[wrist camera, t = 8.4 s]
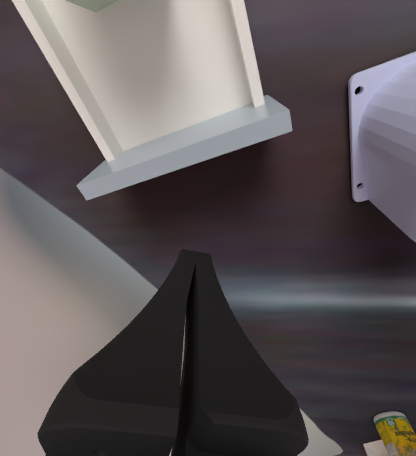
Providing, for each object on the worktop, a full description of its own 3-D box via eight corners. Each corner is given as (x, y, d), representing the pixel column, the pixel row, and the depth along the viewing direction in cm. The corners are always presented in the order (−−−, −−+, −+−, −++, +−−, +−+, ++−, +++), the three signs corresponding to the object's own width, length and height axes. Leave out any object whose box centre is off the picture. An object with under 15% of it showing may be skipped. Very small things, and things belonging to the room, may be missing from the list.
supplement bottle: (367, 420, 46) (398, 494, 39) (381, 409, 44) (418, 486, 36) (394, 423, 47) (430, 497, 39) (411, 411, 44) (454, 489, 36)
